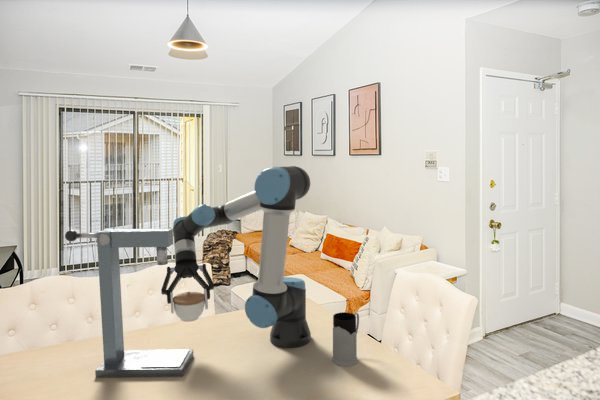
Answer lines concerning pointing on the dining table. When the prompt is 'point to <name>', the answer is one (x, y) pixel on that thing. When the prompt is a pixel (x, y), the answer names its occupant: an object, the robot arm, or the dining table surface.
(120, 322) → the arbor press
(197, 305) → the lidded jar
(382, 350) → the dining table surface
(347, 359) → the grey mug
